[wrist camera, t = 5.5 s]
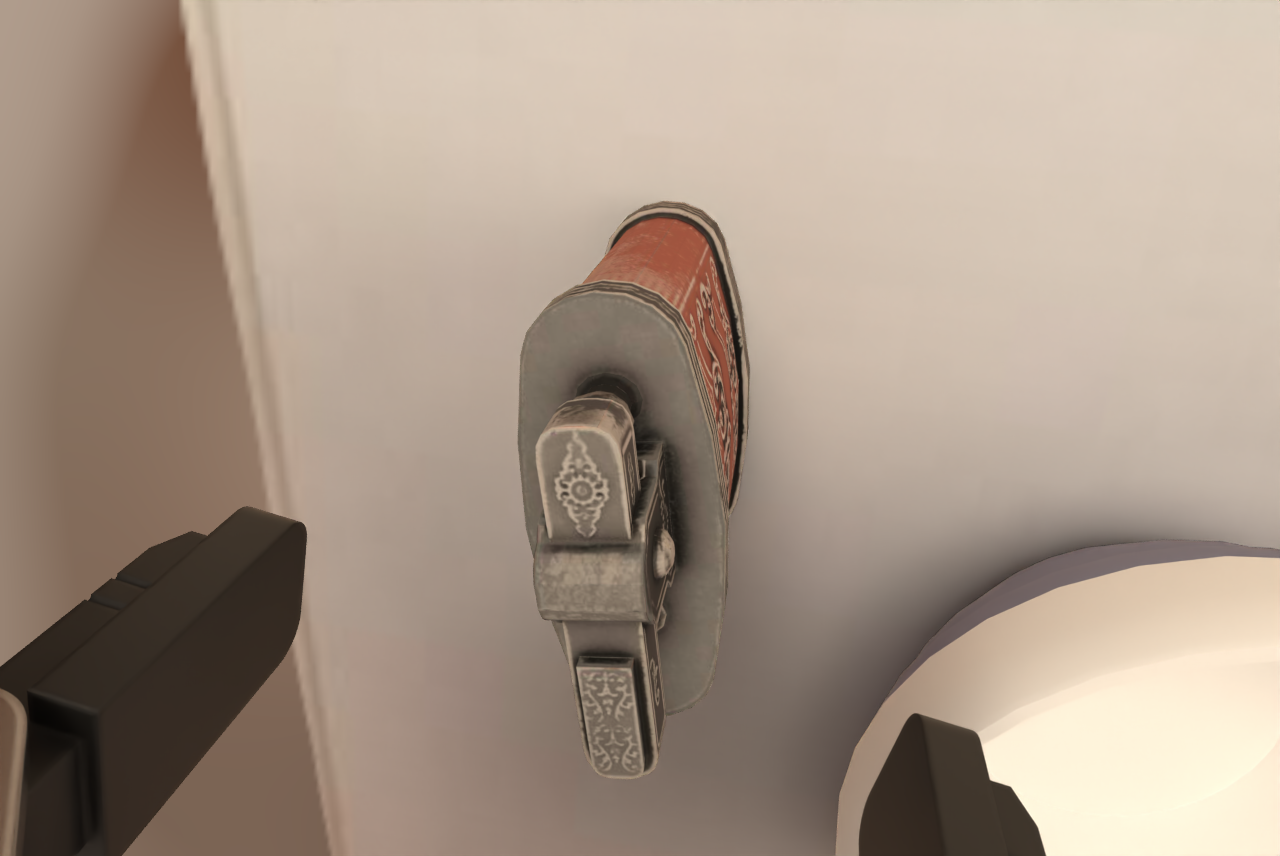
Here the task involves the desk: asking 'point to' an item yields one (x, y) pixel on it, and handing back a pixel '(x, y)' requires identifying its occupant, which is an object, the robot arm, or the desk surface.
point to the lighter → (636, 474)
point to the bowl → (1112, 700)
